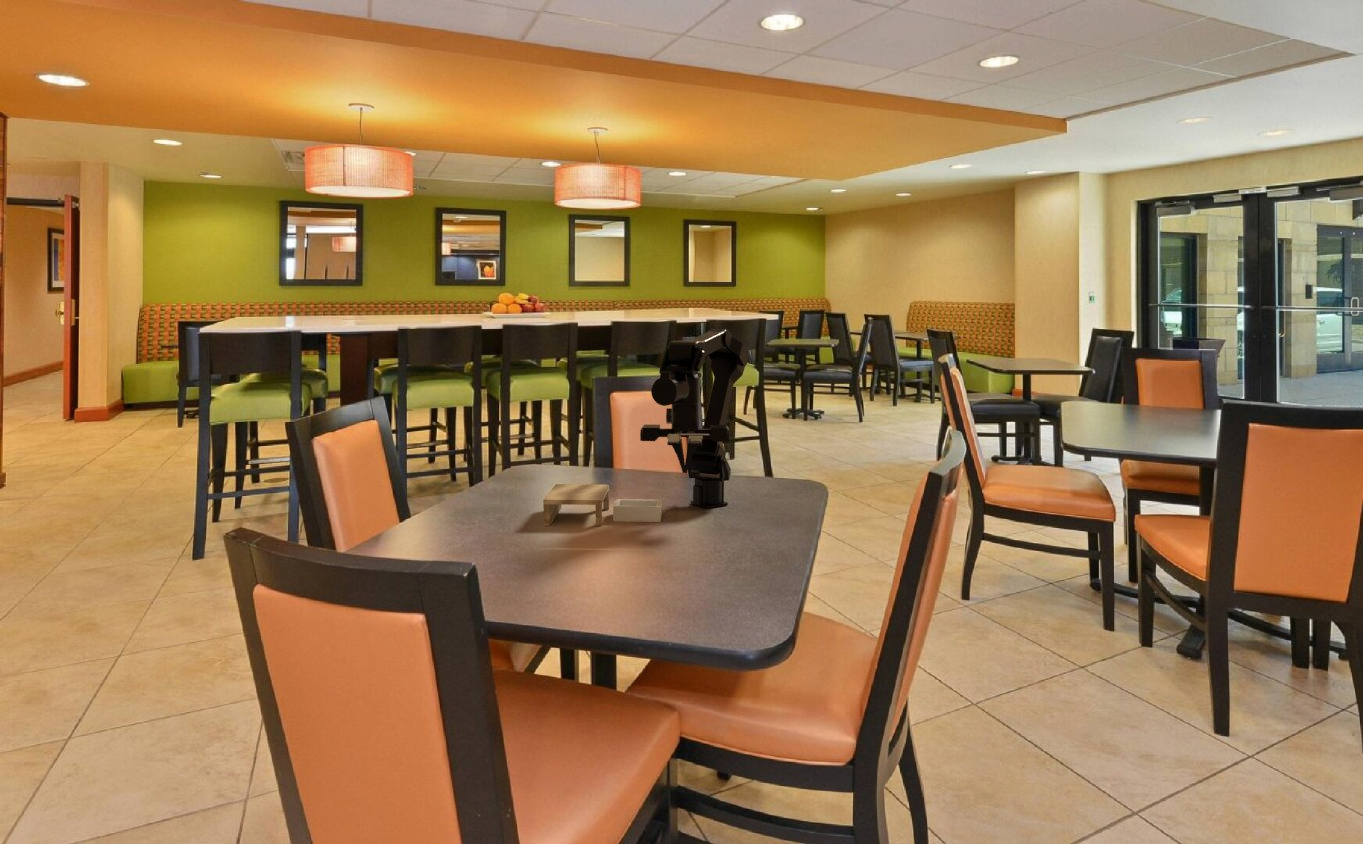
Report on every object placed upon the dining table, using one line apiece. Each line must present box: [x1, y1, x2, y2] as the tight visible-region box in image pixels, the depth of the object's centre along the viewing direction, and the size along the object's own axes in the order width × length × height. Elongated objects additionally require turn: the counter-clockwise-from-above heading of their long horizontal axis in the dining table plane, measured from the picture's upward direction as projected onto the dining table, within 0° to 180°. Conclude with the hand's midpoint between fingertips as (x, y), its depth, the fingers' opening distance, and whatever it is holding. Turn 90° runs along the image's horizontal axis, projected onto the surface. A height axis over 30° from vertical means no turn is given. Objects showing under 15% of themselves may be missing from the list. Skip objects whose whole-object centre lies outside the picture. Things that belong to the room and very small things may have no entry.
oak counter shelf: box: [542, 483, 610, 527], centre depth 167 cm, size 12×14×6 cm
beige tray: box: [612, 498, 663, 523], centre depth 167 cm, size 10×6×4 cm, turn 89°
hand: (684, 472), depth 166 cm, fingers closed
